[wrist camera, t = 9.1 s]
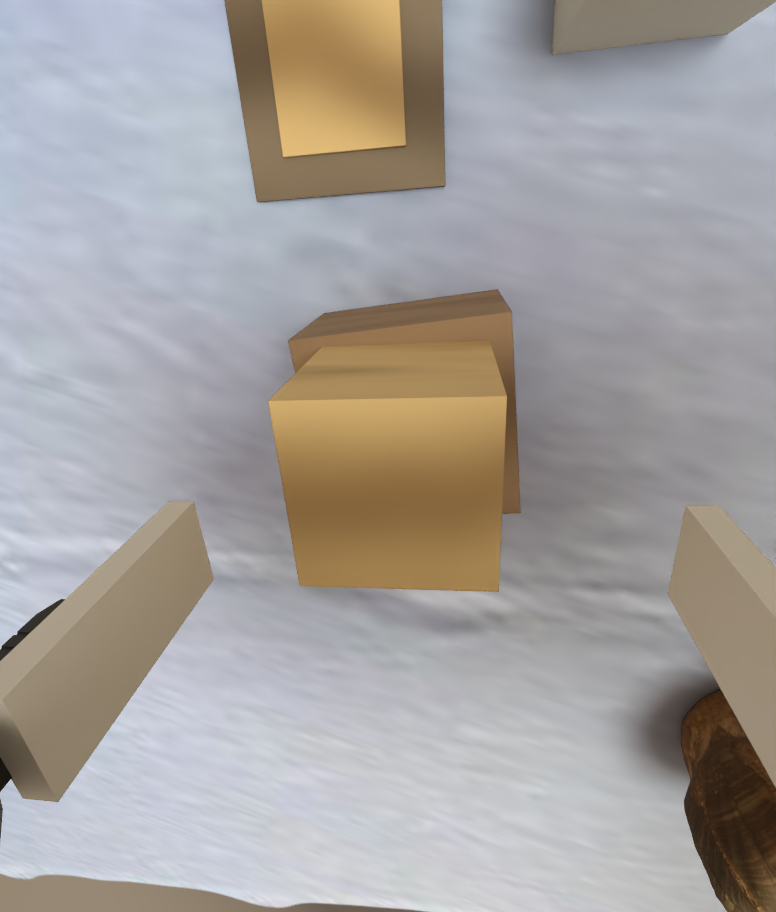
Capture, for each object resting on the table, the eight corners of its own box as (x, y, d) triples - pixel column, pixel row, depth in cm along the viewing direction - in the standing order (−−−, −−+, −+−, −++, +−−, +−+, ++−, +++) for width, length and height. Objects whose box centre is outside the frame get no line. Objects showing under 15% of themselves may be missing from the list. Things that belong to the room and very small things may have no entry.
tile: (445, 185, 21) (445, 185, 20) (260, 201, 22) (254, 201, 21) (440, -76, 17) (440, -87, 17) (221, -43, 18) (213, -52, 18)
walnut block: (506, 450, 26) (520, 512, 20) (354, 463, 27) (330, 524, 22) (497, 288, 22) (511, 311, 17) (325, 312, 24) (287, 340, 18)
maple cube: (485, 490, 20) (498, 591, 15) (339, 490, 21) (299, 586, 15) (489, 340, 17) (506, 396, 12) (322, 346, 18) (268, 400, 13)
